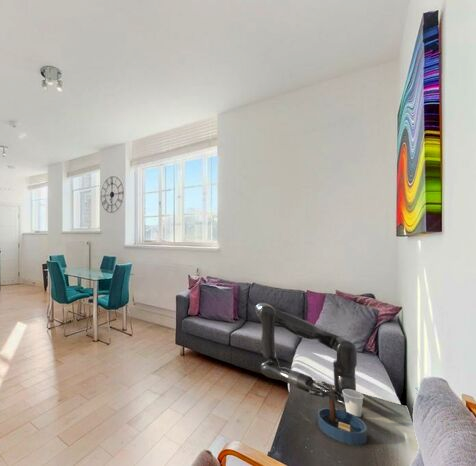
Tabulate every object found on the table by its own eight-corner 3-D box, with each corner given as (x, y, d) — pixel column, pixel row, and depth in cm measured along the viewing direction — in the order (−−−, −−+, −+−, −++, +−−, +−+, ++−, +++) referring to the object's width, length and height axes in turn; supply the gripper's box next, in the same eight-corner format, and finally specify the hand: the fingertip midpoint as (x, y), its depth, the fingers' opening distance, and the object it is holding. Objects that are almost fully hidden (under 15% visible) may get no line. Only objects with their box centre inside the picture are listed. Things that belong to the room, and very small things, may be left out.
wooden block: (339, 430, 125) (338, 421, 125) (350, 434, 122) (350, 425, 123) (338, 435, 122) (338, 426, 122) (350, 439, 119) (350, 430, 119)
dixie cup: (339, 411, 139) (338, 391, 139) (347, 406, 143) (347, 387, 143) (359, 421, 132) (358, 399, 132) (368, 415, 136) (367, 394, 136)
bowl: (329, 415, 137) (328, 403, 137) (374, 436, 122) (373, 423, 122) (310, 427, 128) (310, 415, 128) (356, 452, 113) (355, 438, 113)
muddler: (330, 418, 131) (329, 386, 132) (339, 422, 128) (338, 390, 129) (326, 421, 130) (325, 388, 130) (335, 425, 126) (334, 392, 127)
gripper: (292, 376, 138) (331, 393, 123) (307, 369, 145) (346, 384, 130) (292, 392, 138) (332, 410, 123) (307, 384, 145) (346, 400, 130)
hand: (339, 396), depth 127 cm, fingers closed on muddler, 2 cm apart
